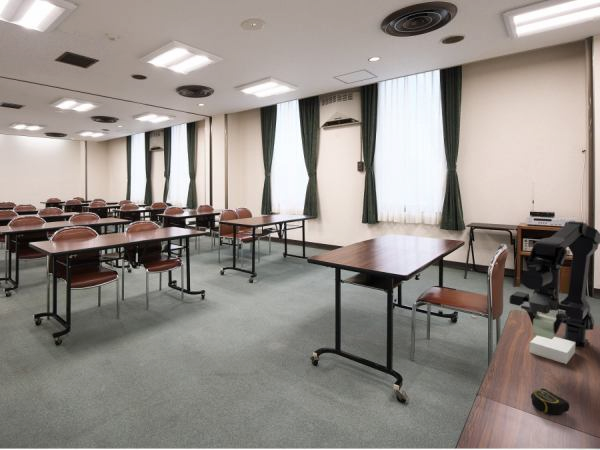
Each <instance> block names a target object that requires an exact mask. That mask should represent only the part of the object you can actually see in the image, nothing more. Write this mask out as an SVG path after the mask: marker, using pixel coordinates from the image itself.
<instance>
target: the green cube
mask: <svg viewBox="0 0 600 450" xmlns="http://www.w3.org/2000/svg"><path fill="white" fill-rule="evenodd" d="M555 322H556V317H553V316H548V315H546V314H542V313H541V314H540V313H539V314H538V313H537V316H536V317H535V318H534V319H533V325H532V335H535V336H537V335H538V336H541V337H545V338H549V339H553V338H554V337H556V335H558V332H557V333H556V334H554V328H555Z"/></svg>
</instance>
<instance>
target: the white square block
mask: <svg viewBox="0 0 600 450" xmlns="http://www.w3.org/2000/svg"><path fill="white" fill-rule="evenodd" d="M562 338H563V337H562ZM562 338H561V337H558V336H555V337H554V338H553V339H549V338H545V337H541V336H538V335H535V336H534V337H533V339H531V340H530V341H529V351H528V352H529V353H530V354H533V355H536V356H539V357H543V358H546V359H549V360H552V361H555V362H558V363H562V364H565V365H567V364H568V362H569V361H570V360H571V358H572V357H573V356H574V354H575V353H576V345H575V343H576V342H573V341H569V340H565V339H562Z"/></svg>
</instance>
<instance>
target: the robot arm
mask: <svg viewBox="0 0 600 450" xmlns="http://www.w3.org/2000/svg"><path fill="white" fill-rule="evenodd" d="M599 245H600V231H598V229H596V228H594V227H592V226H590V225H587V223H586V222H583V221H571V220H570V221H566V222H565V223H564V226H563V227H561V228H560V229H559V230H557V232H555V233H554V234H553V235H552V236H550V237H544V238H541V239H539V240H537V241H536V242H535V243H534V244H533V246H532V249H531V250H530V254H529V256H528V259H527V264H528V269H526V270H524V271H523V272H522V274H521V276H520V280H521V283H522V285H523V286H524V287H525V288H527V289H529V290H532V291H533V290H534V291H533V293H532V294H531V295H530V294H529V293H527V292H523V291H515V292H514V293H512V294H511V295H510V296H509V301H508V302H509V304H511V305H515V306H520V309H523V310H524V311H525V312H526V313H527V315H528V317H529V320H530V321H531V324H532V326H533V319H534V318H535V317H536V316H537V315H538V313H541V314H543V315H547V314H549V313H550V311H557V313H556V314H555V318H556V322H555V328H554V334H556V333H557V334H558V331H559V330H560V328H561V326H562V325H563V324H565V325H564V336H562V339H565V340H569V341H573V342H576V343H575V346H577V347H582V348H585V347H586V345H587V344H588V343H589V339H586V338H587V337H586V336H587V331H590V330H592V331H593V330H594V327H595V319H594V317H593V315H592V313H591V306H590V304H589V302H588V300H587V298H586V293H587V285H588V280H589V279H588V278H589V272H590V271H589V269H590V262H591V261H590V260H591V256H592V255H593V254H594V253H595V252H596V251H597V250H598V248H599ZM567 248H568V249H569V250H570V252H571V254H572V258H571V267H570V272H569V273H570V274H569V283H568V291H567V296H566V297H565V298H564V299H563V300H561V301H560V297H559V296H560V295H559V293H560V285H561V284H560V279H561V277H560V275H561V267H562V266H563V265H564V262H565V261H566V258H567V256H568V251H567V250H568V249H567ZM529 264H530V265H529ZM557 334H556V335H557Z"/></svg>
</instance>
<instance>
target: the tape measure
mask: <svg viewBox="0 0 600 450" xmlns="http://www.w3.org/2000/svg"><path fill="white" fill-rule="evenodd" d="M530 399H531V404H532V405H533V407H534V408H535V409H536V410H538V411H539V412H541V413H543V414H546V415H549V416H556V417H559V416H561V415H563V414H564V413H566V412H567V413H568V412H569V410H570V407H571V406H570V403H569V402H568V401H567V400H565V399H564V398H562V397H560V396H558V395H557V394H555V393H553V392H551V391H549V390H547V388H543V387H542V388H540V389H535V390H534V391H533V392H532V393H531V395H530Z"/></svg>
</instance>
